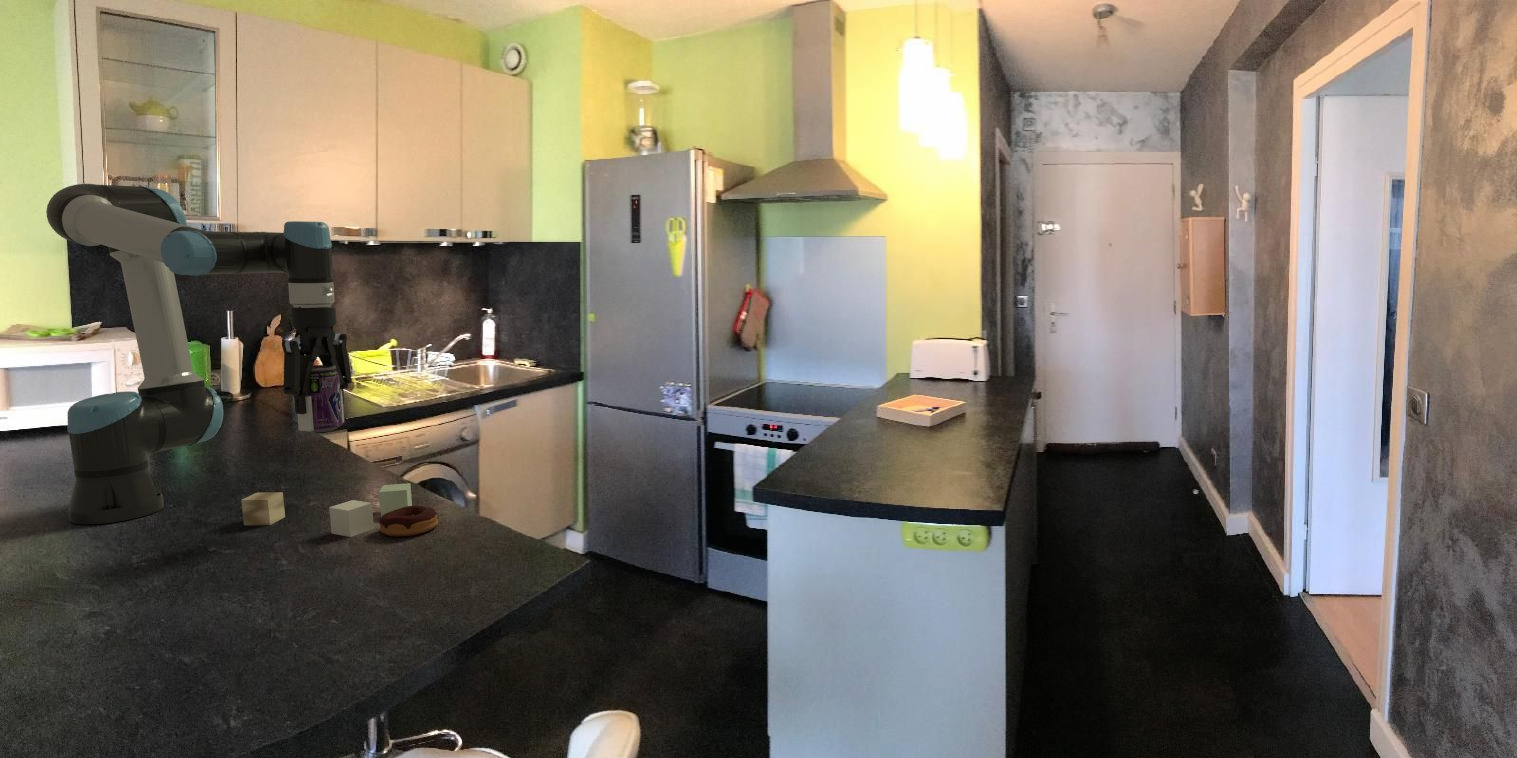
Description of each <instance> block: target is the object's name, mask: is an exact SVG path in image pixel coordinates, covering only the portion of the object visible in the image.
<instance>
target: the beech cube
mask: <svg viewBox="0 0 1517 758" xmlns="http://www.w3.org/2000/svg"><path fill="white" fill-rule="evenodd" d="M284 501H285V500H284V493H283V492H279V491H278V492H276V491H275V492H262V491H261V492H255V493H252V494H251V495H249V496H247V497H245V498H242V499H241V510H242V520H243V526H271V525H273V524H275V523H277V522H279V521H280V520H282V519H284V518H286V513H285V512H286V511H285V502H284Z"/></svg>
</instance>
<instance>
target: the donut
mask: <svg viewBox="0 0 1517 758" xmlns="http://www.w3.org/2000/svg"><path fill="white" fill-rule="evenodd" d="M378 524H379V525H380V529H379V530H380V532H381V533H383V534H384V535H386V536H389V537H410V536H416V535H419V534H420V535H421V534H423V533H427V532H430V531H431V530H433V529H434V528H436V527H437V526H438V524H439V520H438V513H437V512H436V510H435V509H434V508H433V507H428V506H423V505H412V506H407V507H403V508H400V509H397V510H394V511H391V512H388V513H386V514H384V515H383V516H382V517H381V516H380V519H379V520H378Z"/></svg>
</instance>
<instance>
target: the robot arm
mask: <svg viewBox="0 0 1517 758" xmlns="http://www.w3.org/2000/svg"><path fill="white" fill-rule="evenodd" d="M46 218H47V219H46V220H47V222H48V224H49V226H50V227H51V229H52V230H53V231H54V232H55V233H56V235H58V236H60V237H61V238H63V239H64V240H67V241H70V242H72V243H75V244H79V245H82V246H88V247H95V246H100V245H101V246H106V247H108V251H109V256H110V257H112V258H113V259H115V260H116V261H118V262H119V263H120V266H121V270H122V275H123V279H124V284H125V290H126V294H127V299H128V303H129V310H130V313H131V319H132V325H133V329H134V335H135V339H136V344H137V349H138V353H139V358H140V363H141V367H142V372H143V377H144V378H143V381H142V382H141V383H140V384H139V385H138V386H137V392H136V391H117V392H111V393H104V394H98V395H95V396H92V397H91V396H90V397H88V398H84V399H82V400H79V401H77V402H75V403H73V404H72V405H71V406H70V407H69V408H68V411H67V426H66V427H67V433H68V437H69V442H70V443H69V444H70V450H71V457H72V463H73V471H74V477H75V478H74V479H75V481H74V484H73V485H74V486H73V490H72V493H71V497H70V500H69V501H70V502H69V506H68V508H67V514H68V521H69V522H70V523H72V524H76V525H77V524H78V525H101V524H111V523H116V522H123V521H129V520H134V519H137V518H141V517H146V516H149V515H151V514H155V513H156V512H159V511H161V510H162V509H163V508H164V506H165V503H164V496H163V493H162V491H160V488H159V486H158V484H157V482H156V481H155V480H156V479H154V477H153V475H152V473H151V471H150V469H149V467H150V466H149V461H148V455H149V454H154V453H158V452H163V451H167V450H172V449H173V450H174V449H177V448H181V447H188V446H189V447H190V446H194V445H197V444H199V443H203V442H206V441H209V440H210V439H213V437H215V436H216V435H217V433H218V432H219V430H220V429H221V426H222V425H223V419H224V405H223V401H222V399H221V397H220V396H219V395H218V393H217V392H218V391H217V392H216V390H215V389H214V388H211V387H208V386H206V383H205V380H204V379H205V378H204V377H202V376H200V375H199V374H197V373H196V372H194V367H193V362H192V357H191V351H190V347H189V343H188V342H189V341H188V338H187V331H186V327H185V322H184V317H183V311H182V306H181V302H180V298H179V293H178V292H179V291H178V287H177V281H176V277H175V274H176V275H178V276H179V275H180V276H182V275H183V276H193V277H194V276H196V277H199V276H206V275H207V276H208V275H225V274H226V275H227V274H228V275H231V274H232V275H234V274H263V273H264V274H268V273H269V274H270V273H274V274H275V273H276V274H277V273H278V274H279V273H280V274H281V273H283V274H284V273H287V282H288V297H289V299H288V300H289V304H290V305H293V307H291V308H290V312H289V313H290V321H291V326H292V327H293V328H294V330H295V334H294V337H293V338H292V339H288V340H285V339H284V340H282V341H281V347H282V350H283V394H284V395H288V396H289V397H293V399H294V412H295V414H296V415H297V424H298V425H297V426H298V431H300V432H303V431H304V432H309V431H314V426H313V413H312V400H311V396H307V393H308V388H309V383H310V378H311V374H312V371H311V370H312V369H313V365H314V363H315V362H316V361H317V360H318V359H320V362H321V365H325V366H336V371H337V373H338V374H339V379H340V393H341V406H342V420H343V423H345V415H344V414H345V413H344V404H345V393H344V392H345V391H344V389H345V390H347V389H349V385H350V384H351V383H352V379H353V378H352V375H351V368H350V362H349V361H350V360H349V356H348V350H347V341H348V335H347V334H346V333H336V332H335V330H334V327H335V326H336V325H337V324H338V323H337V310H336V307H335V306H333V305H332V304H334V303H336V302H335V301H336V299H335V288H334V268H333V251H332V250H333V249H332V247H333V243H332V239H331V238H332V237H331V232H330V226H329V225H328V224H327V223H325V222H323V221H295V220H294V221H293V220H292V221H286V222H285V223H284V224H283V232H273V231H272V232H270V231H269V232H268V231H212V230H204V229H199V228H197V227H192V226H190V225H189V226H188V223H187V218H186V214H185V211H184V209H183V207H182V206H181V204H180V202H179V201H178V200H177V198H175V197H174V196H172V194H170V192H168V191H165V190H163V189H160V188H155V187H154V188H153V187H148V186H144V185H141V186H137V185H136V186H134V185H113V184H111V185H110V184H109V185H108V184H95V183H94V184H93V183H77V184H73V185H72V184H71V185H69V186H67V187H64V188H61V189H60V190H58V191H57V192H55V193H54V194H53V195H52V197H51V198H50V200H49V201H48V203H47V206H46ZM300 388H301V390H300Z"/></svg>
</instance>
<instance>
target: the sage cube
mask: <svg viewBox="0 0 1517 758" xmlns="http://www.w3.org/2000/svg"><path fill="white" fill-rule="evenodd" d="M378 497H379V498H378V499H379V509H380V510H379V511H380V518H381V517H382V516H383V515H384V514H386V513H388V512H391V511H394V510H397V509H400V508H403V507H407V506H413V503H412V487H411V483H396V484H395V483H394V484H384V485H382V487H381V488H380V490H378Z"/></svg>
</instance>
